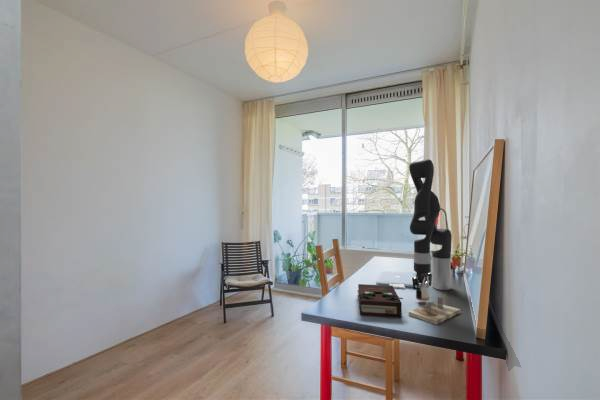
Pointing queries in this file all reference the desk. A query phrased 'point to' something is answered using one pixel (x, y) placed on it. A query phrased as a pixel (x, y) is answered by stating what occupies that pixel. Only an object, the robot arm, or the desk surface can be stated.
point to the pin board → (434, 312)
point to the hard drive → (397, 286)
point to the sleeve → (424, 293)
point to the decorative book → (379, 301)
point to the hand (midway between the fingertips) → (422, 296)
